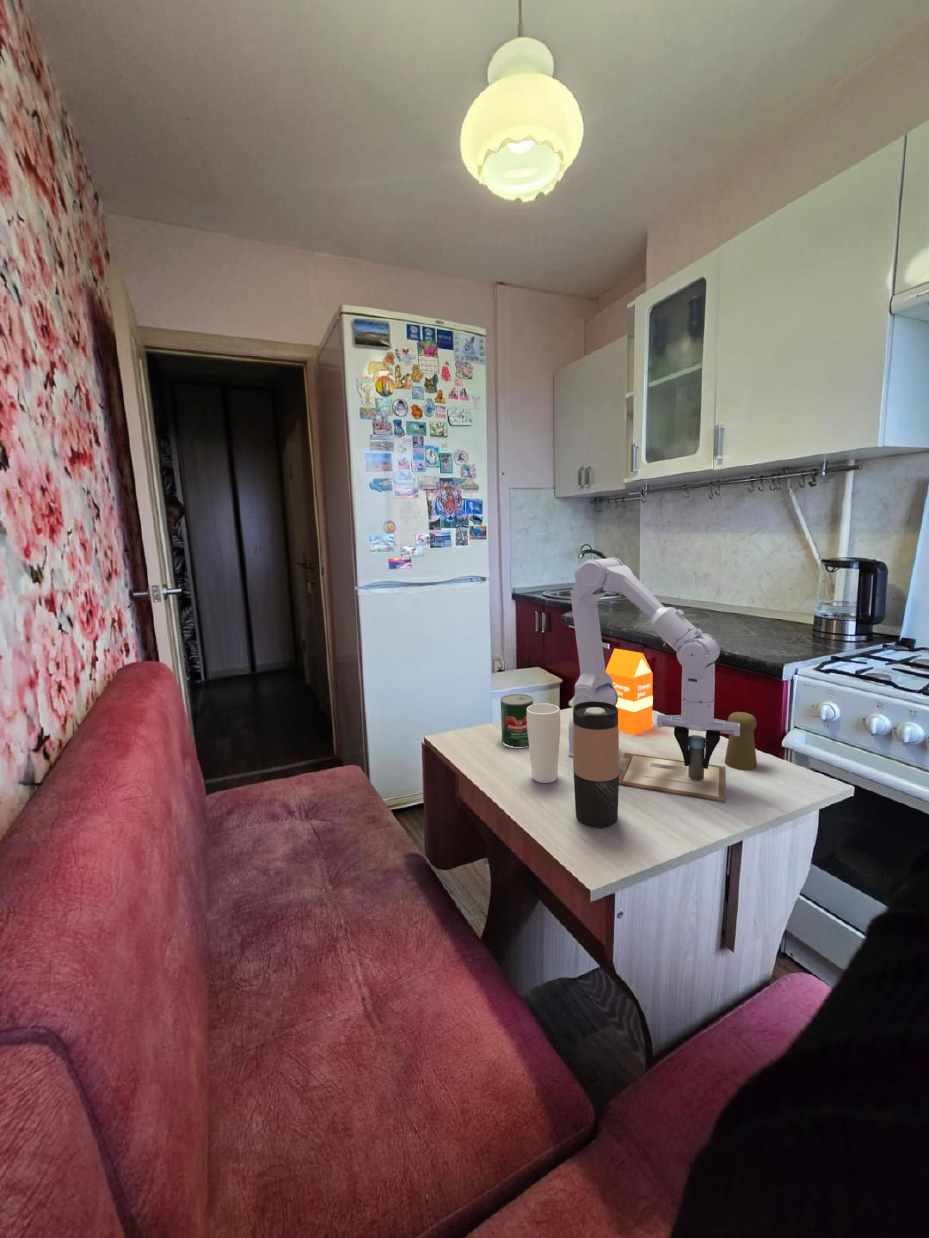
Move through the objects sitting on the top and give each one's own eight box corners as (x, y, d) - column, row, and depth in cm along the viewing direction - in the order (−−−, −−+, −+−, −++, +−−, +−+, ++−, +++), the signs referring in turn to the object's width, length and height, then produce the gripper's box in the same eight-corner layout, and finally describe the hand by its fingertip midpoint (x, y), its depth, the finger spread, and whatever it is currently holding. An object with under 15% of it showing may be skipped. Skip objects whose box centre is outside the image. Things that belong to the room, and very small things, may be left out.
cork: (761, 770, 103) (763, 719, 102) (729, 769, 104) (731, 718, 103) (751, 758, 109) (753, 709, 107) (721, 757, 110) (722, 708, 109)
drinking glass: (549, 789, 100) (547, 716, 98) (521, 779, 105) (519, 709, 102) (567, 776, 105) (566, 706, 103) (540, 768, 109) (538, 701, 107)
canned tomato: (513, 751, 119) (511, 706, 117) (495, 740, 126) (494, 697, 124) (540, 743, 123) (539, 699, 121) (522, 733, 129) (521, 692, 128)
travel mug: (617, 807, 92) (617, 701, 89) (620, 831, 85) (620, 716, 82) (574, 804, 94) (572, 700, 91) (573, 827, 86) (571, 714, 83)
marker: (687, 778, 99) (688, 739, 98) (688, 772, 102) (689, 734, 101) (704, 781, 98) (705, 741, 97) (704, 774, 100) (705, 736, 99)
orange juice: (623, 719, 136) (623, 646, 133) (652, 727, 129) (653, 650, 126) (604, 726, 132) (604, 650, 129) (633, 735, 125) (634, 656, 122)
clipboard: (611, 783, 101) (611, 777, 101) (624, 754, 114) (624, 749, 114) (724, 802, 92) (724, 796, 92) (724, 768, 105) (724, 762, 105)
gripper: (655, 700, 97) (654, 767, 99) (741, 708, 91) (738, 780, 93) (659, 690, 103) (658, 753, 105) (740, 697, 97) (738, 764, 99)
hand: (696, 765), depth 99 cm, fingers closed on marker, 3 cm apart
